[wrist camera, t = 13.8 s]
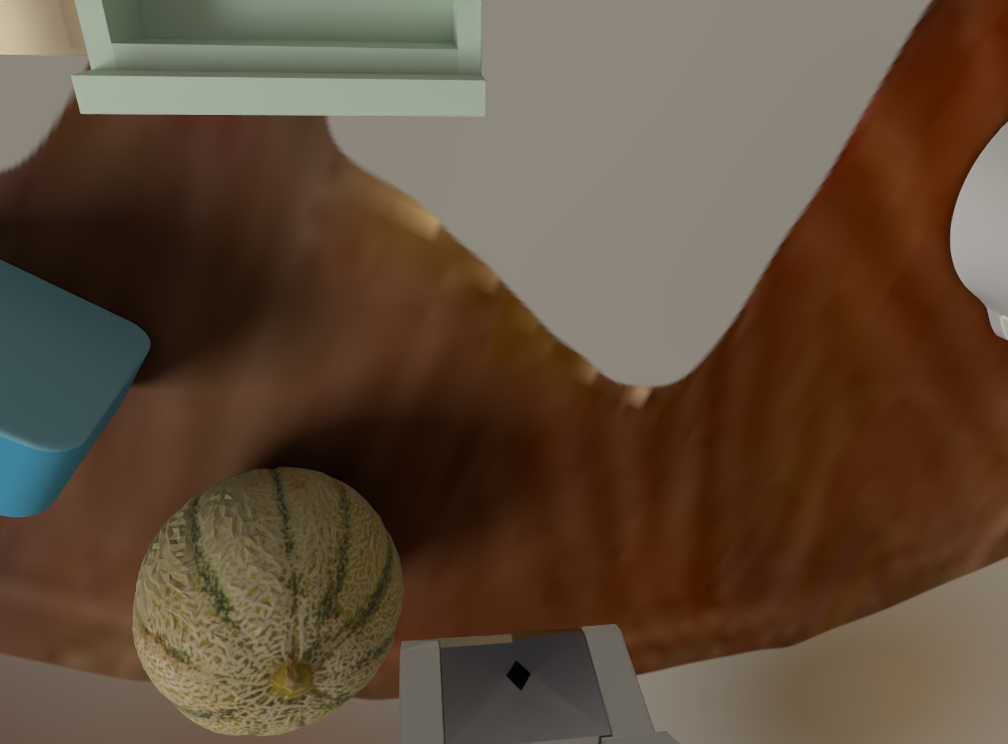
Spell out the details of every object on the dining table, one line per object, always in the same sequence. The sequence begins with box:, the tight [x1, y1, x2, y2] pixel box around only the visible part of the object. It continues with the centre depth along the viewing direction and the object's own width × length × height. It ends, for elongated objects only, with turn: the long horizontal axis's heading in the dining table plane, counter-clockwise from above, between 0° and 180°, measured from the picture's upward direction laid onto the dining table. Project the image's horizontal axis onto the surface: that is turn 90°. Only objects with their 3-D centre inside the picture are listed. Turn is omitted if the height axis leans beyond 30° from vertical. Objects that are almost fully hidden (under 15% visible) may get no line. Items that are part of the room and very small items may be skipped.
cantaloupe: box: [132, 467, 403, 736], centre depth 40 cm, size 15×15×15 cm
